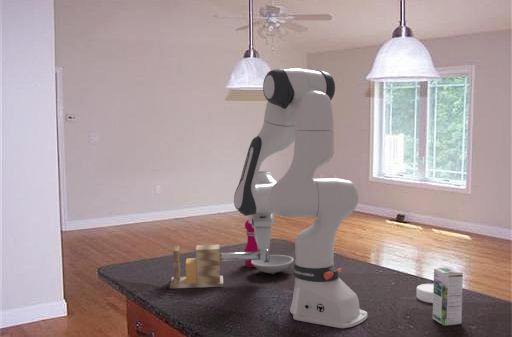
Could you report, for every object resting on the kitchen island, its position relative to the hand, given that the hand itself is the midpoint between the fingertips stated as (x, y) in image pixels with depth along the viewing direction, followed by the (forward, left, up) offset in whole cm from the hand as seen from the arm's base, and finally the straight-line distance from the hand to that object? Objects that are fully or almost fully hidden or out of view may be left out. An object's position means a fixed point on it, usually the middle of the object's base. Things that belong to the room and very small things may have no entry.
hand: (261, 256), depth 188 cm
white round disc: (-54, -19, -9) cm, 58 cm away
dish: (+3, -10, -9) cm, 14 cm away
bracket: (+16, +16, -9) cm, 24 cm away
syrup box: (-65, -2, -9) cm, 65 cm away
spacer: (+17, +17, -4) cm, 25 cm away
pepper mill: (+16, -14, -9) cm, 23 cm away
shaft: (+7, +7, -2) cm, 10 cm away
